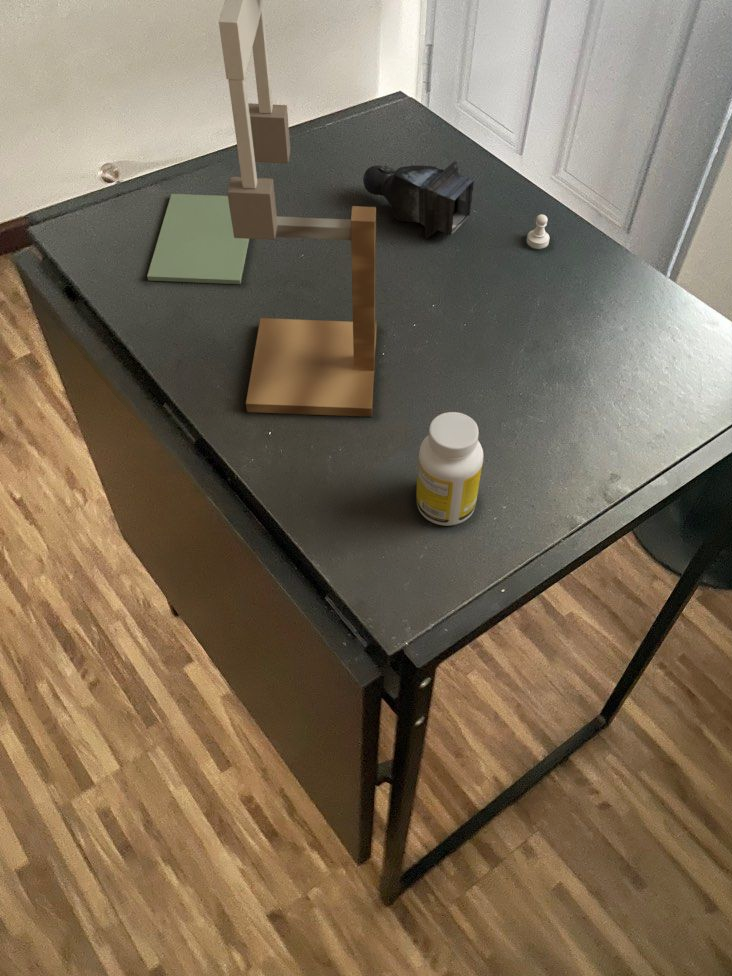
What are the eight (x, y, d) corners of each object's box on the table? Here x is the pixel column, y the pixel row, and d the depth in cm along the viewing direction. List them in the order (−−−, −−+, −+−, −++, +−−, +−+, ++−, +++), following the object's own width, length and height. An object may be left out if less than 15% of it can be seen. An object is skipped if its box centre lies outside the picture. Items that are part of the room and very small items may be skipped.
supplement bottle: (468, 476, 77) (480, 402, 68) (481, 524, 74) (495, 452, 65) (410, 482, 76) (415, 408, 68) (420, 531, 73) (427, 459, 65)
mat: (147, 280, 90) (146, 276, 90) (172, 197, 98) (171, 193, 98) (240, 284, 90) (239, 280, 90) (256, 201, 99) (256, 197, 98)
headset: (233, 238, 65) (201, 24, 52) (253, 148, 72) (228, -60, 59) (274, 240, 65) (252, 27, 52) (290, 150, 72) (274, -58, 59)
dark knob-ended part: (378, 183, 102) (378, 131, 96) (473, 219, 98) (479, 168, 93) (349, 209, 98) (348, 158, 93) (447, 248, 95) (452, 197, 90)
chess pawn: (541, 233, 97) (547, 206, 94) (552, 246, 96) (558, 219, 93) (522, 238, 97) (527, 211, 94) (532, 251, 95) (538, 224, 92)
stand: (247, 412, 80) (219, 254, 65) (261, 326, 87) (239, 165, 72) (372, 417, 80) (372, 260, 65) (376, 331, 87) (378, 171, 72)
